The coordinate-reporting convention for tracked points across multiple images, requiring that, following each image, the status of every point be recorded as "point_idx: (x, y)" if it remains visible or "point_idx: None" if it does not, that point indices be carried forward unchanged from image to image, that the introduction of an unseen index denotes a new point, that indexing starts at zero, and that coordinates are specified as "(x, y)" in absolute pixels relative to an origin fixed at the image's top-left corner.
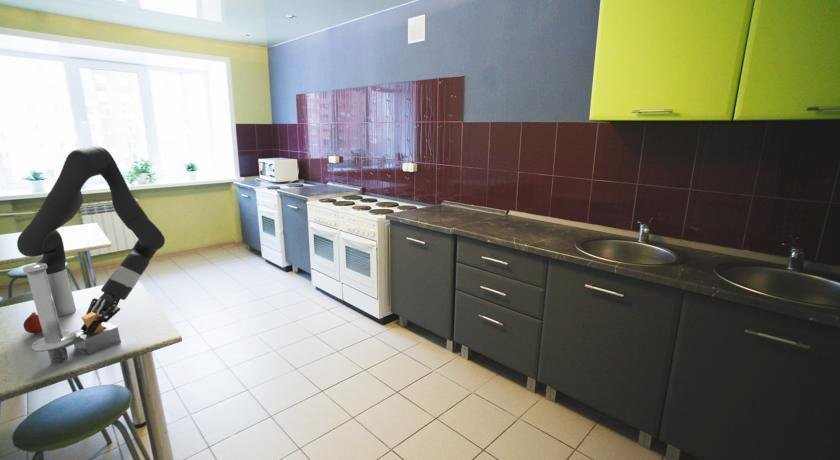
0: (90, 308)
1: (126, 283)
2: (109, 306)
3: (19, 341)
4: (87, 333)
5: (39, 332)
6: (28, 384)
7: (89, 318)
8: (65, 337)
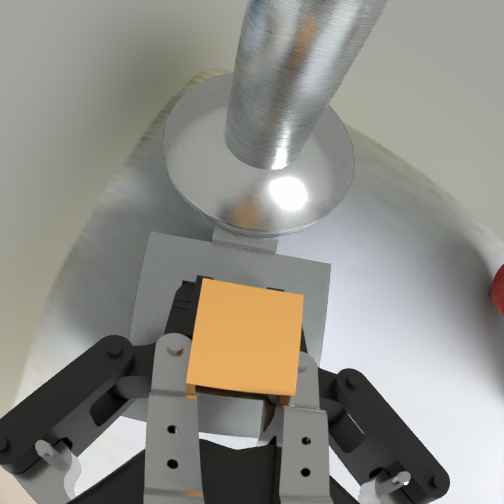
0: (372, 420)
1: None
2: (92, 486)
3: (485, 247)
4: None
5: (491, 293)
6: (184, 87)
7: (199, 311)
8: (232, 167)
